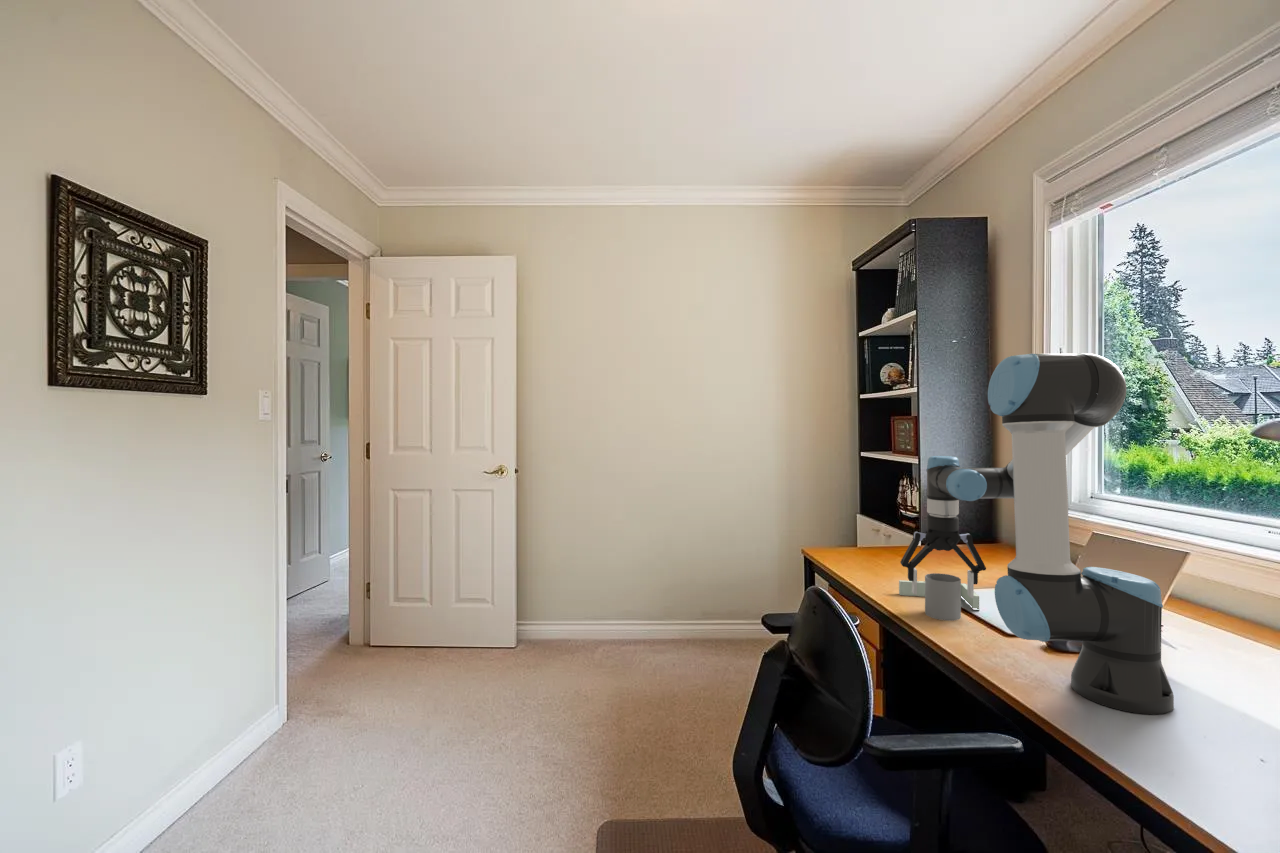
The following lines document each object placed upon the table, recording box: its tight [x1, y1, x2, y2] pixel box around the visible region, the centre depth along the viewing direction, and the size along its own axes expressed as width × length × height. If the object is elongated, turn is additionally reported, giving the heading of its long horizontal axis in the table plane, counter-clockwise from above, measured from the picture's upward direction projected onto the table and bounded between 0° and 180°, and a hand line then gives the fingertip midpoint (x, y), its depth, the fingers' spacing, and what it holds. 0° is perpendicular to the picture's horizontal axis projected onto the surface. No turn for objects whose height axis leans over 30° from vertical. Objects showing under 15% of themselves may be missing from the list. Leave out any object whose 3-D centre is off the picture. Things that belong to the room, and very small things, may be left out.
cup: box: [924, 572, 962, 622], centre depth 160 cm, size 8×8×10 cm
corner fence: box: [898, 579, 980, 610], centre depth 171 cm, size 12×18×4 cm
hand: (942, 594), depth 160 cm, fingers open, 13 cm apart
